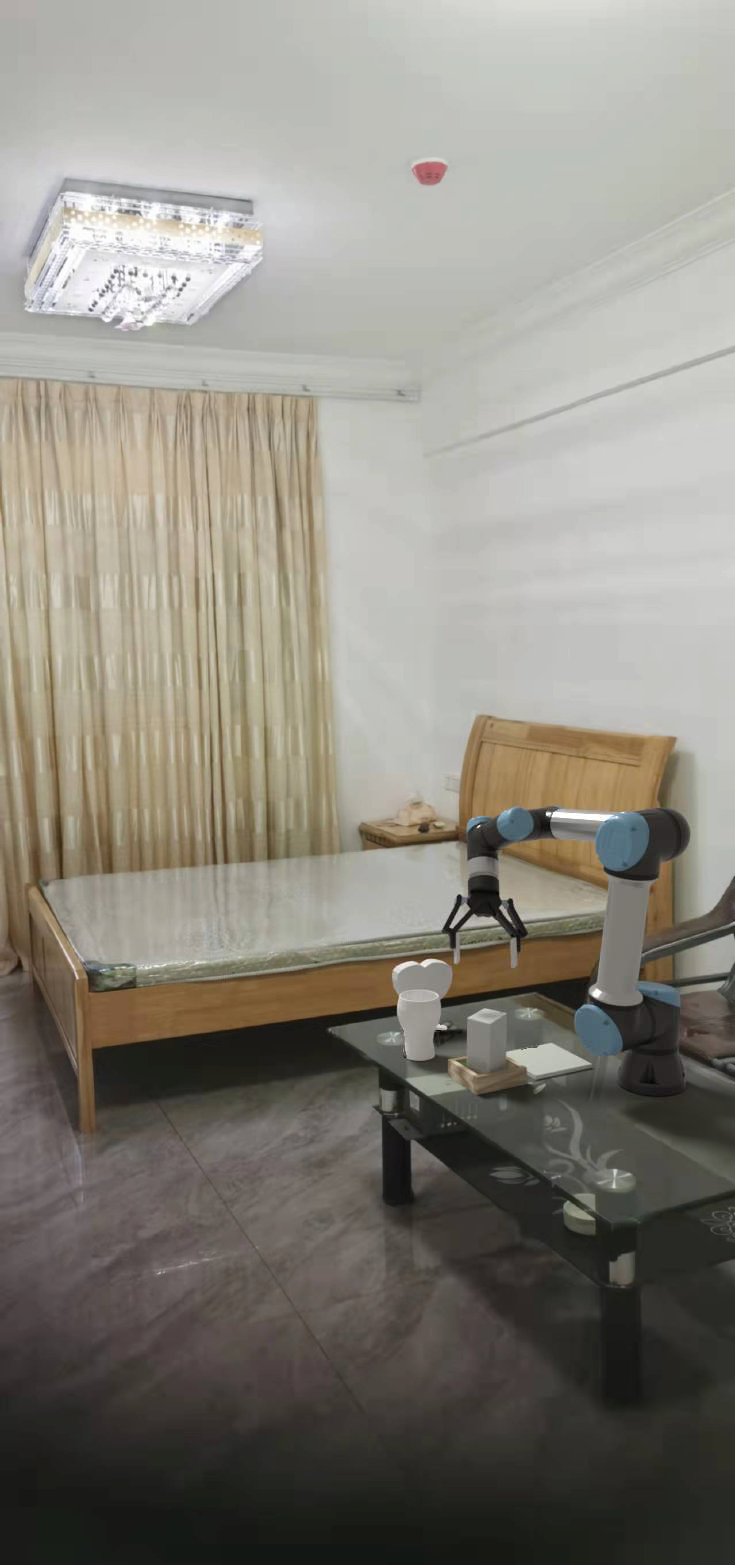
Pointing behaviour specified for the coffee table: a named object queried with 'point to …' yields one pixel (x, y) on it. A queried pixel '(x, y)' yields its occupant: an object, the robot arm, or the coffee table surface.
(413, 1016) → the cup
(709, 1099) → the coffee table surface
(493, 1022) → the skincare box
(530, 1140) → the coffee table surface
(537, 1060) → the board
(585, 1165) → the coffee table surface
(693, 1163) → the coffee table surface
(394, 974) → the heart sculpture
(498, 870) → the robot arm
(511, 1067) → the caddy
